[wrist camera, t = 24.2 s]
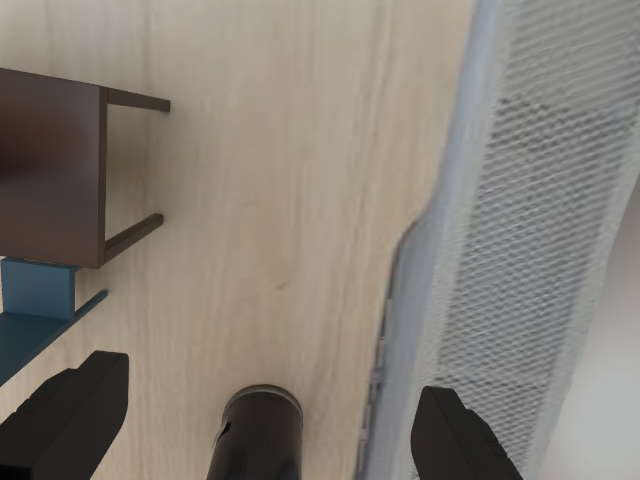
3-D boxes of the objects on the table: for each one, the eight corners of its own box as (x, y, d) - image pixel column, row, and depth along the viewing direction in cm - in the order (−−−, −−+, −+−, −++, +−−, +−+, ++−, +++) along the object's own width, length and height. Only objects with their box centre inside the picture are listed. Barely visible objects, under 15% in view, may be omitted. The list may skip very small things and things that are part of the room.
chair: (107, 296, 41) (-21, 405, 24) (51, 288, 40) (-117, 396, 24) (108, 245, 39) (-28, 327, 23) (50, 237, 39) (-130, 315, 23)
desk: (163, 224, 39) (97, 269, 26) (-5, 199, 38) (-157, 234, 25) (170, 100, 36) (100, 85, 23) (-13, 68, 34) (-191, 33, 22)
